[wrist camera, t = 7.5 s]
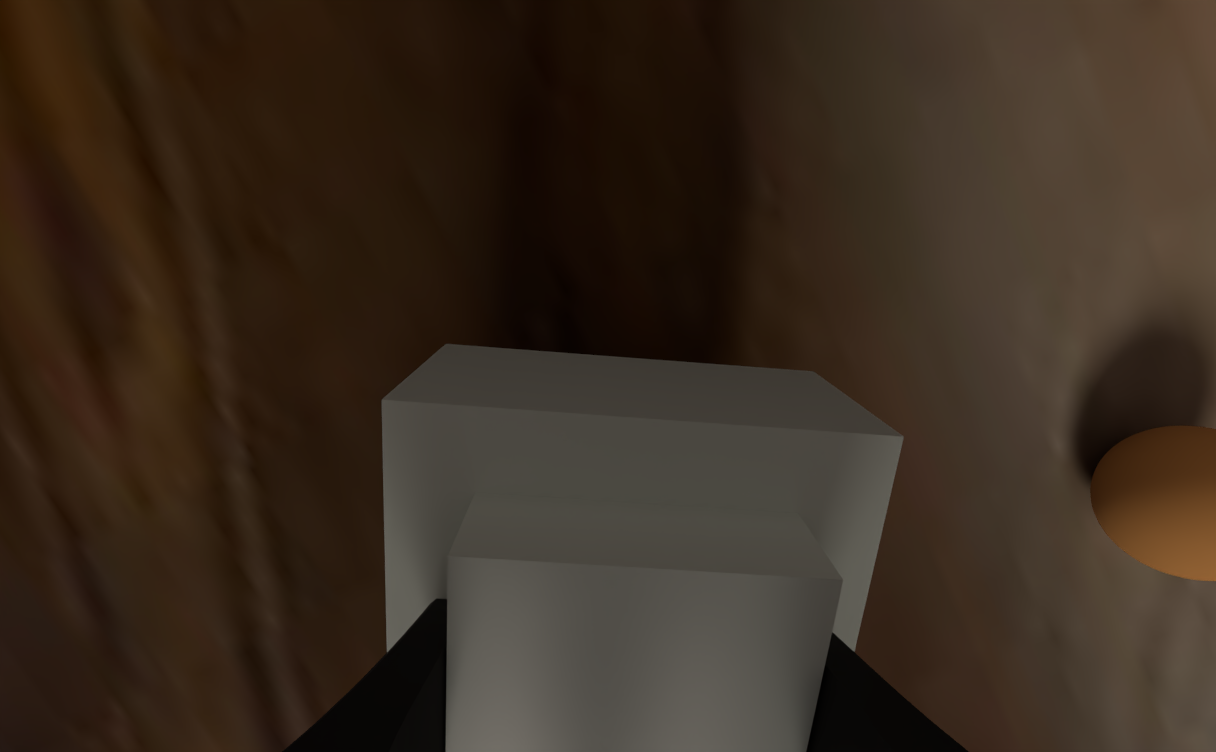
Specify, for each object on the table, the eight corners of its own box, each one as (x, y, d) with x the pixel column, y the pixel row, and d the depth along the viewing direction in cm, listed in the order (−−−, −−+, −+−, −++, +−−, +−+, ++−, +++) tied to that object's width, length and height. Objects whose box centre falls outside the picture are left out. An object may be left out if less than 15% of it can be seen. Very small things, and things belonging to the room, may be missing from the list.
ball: (1067, 572, 21) (1239, 607, 20) (1156, 543, 17) (1382, 585, 16) (1058, 444, 23) (1212, 468, 22) (1134, 389, 19) (1333, 414, 18)
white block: (443, 656, 16) (351, 921, 10) (445, 343, 14) (330, 444, 8) (758, 673, 17) (852, 937, 11) (813, 371, 14) (975, 488, 8)
